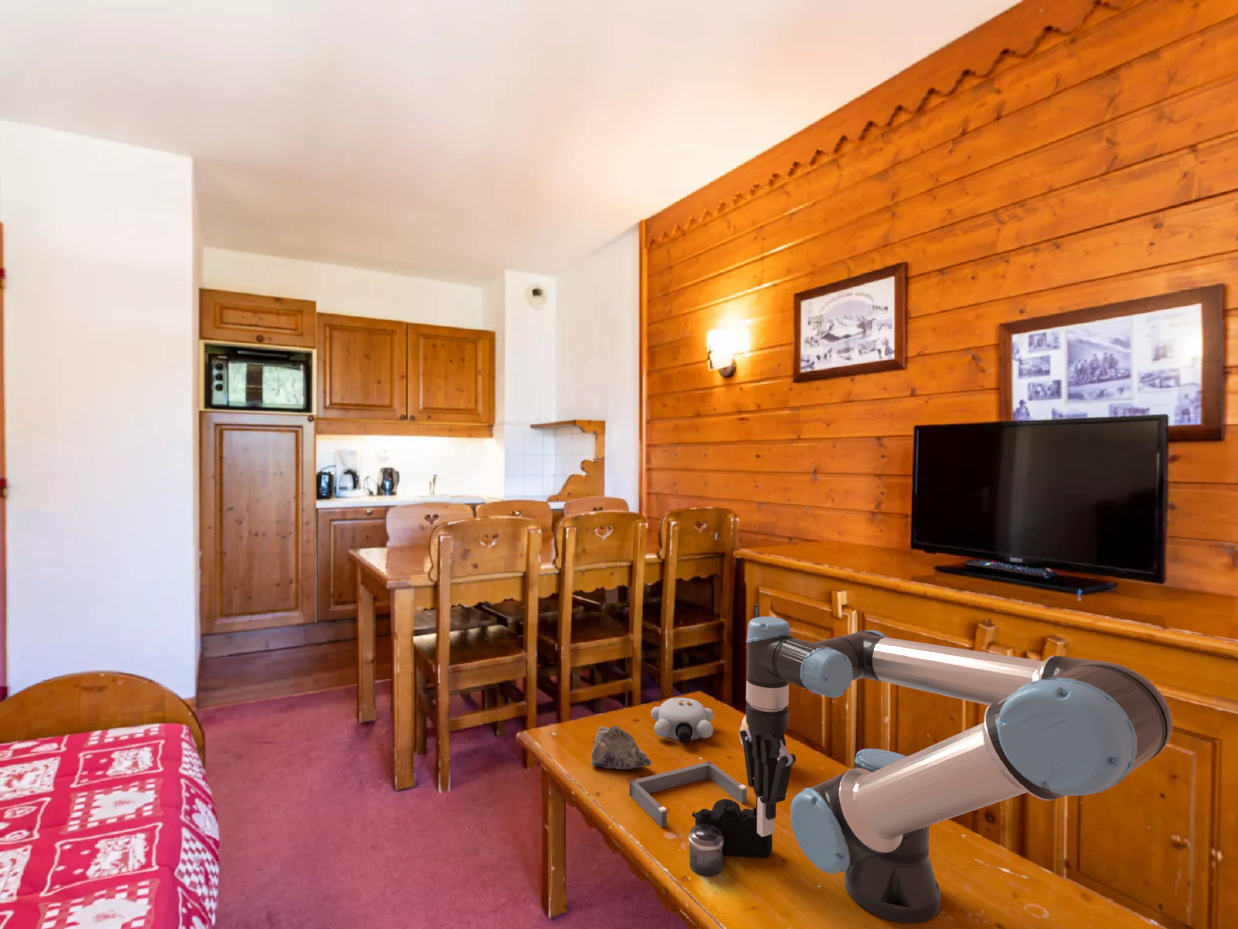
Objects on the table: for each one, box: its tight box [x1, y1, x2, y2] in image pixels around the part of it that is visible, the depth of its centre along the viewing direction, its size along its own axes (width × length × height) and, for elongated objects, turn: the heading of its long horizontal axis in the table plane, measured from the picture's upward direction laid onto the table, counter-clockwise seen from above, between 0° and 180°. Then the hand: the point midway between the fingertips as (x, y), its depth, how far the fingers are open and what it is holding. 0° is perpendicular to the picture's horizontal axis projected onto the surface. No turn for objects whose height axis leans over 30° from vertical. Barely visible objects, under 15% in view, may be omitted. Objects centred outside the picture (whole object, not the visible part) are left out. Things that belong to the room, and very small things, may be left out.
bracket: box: [628, 761, 748, 828], centre depth 138 cm, size 14×21×3 cm, turn 117°
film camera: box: [691, 798, 773, 859], centre depth 122 cm, size 15×10×9 cm, turn 84°
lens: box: [688, 824, 724, 878], centre depth 115 cm, size 6×6×6 cm
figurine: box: [650, 697, 715, 745], centre depth 172 cm, size 17×8×20 cm
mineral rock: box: [591, 725, 652, 771], centre depth 152 cm, size 13×11×10 cm
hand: (765, 832), depth 115 cm, fingers closed
